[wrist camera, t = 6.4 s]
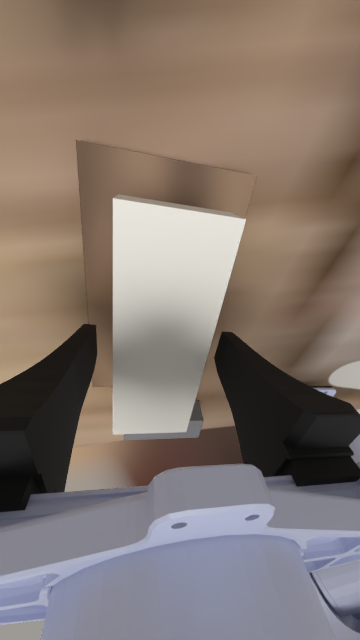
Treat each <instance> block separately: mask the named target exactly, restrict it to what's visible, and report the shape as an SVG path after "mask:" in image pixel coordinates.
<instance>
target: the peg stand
mask: <svg viewBox="0 0 360 640" xmlns="http://www.w3.org/2000/svg"><path fill="white" fill-rule="evenodd" d="M76 147H77V162H78V177H79V192H80V207H81V222H82V236H83V251H84V266H85V281H86V296H87V310H88V324H91V325H96V333H97V359H96V364H95V369H94V373H93V376H92V385H93V387H113V198H114V197H115V196H117V195H118V194H120V195H126V196H132V197H138V198H144V199H151V200H157V201H163V202H169V203H175V204H181V205H188V206H194V207H200V208H206V209H212V210H219V211H225V212H230V213H233V214H235V215H237V216H240V217H242V218H244V219H245V217H246V214H247V210H248V206H249V203H250V199H251V196H252V192H253V188H254V185H255V181H256V178H257V176H256V175H251V174H246V173H241V172H235V171H230V170H225V169H220V168H215V167H210V166H205V165H200V164H195V163H190V162H185V161H180V160H174V159H169V158H164V157H159V156H154V155H149V154H144V153H139V152H134V151H129V150H124V149H119V148H114V147H108V146H103V145H98V144H93V143H88V142H83V141H78V140H76Z"/></svg>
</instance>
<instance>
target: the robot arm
mask: <svg viewBox="0 0 360 640" xmlns="http://www.w3.org/2000/svg"><path fill="white" fill-rule="evenodd" d="M96 359H97V333H96V325H91V324H84V325H82V326H81V327H80V328H79V329H78V330H77V331H76V332H75V333H74V334H73V335H72V336H71V337H70V338H69V339H67V340H66V341H65V342H64V343H63V344H62V345H61V346H60V347H58V348H57V349H56V350H55V351H53V352H52V353H51V354H49V355H48V356H47V357H46V358H44V359H43V360H41V361H40V362H38V363H37V364H35V365H34V366H32V367H31V368H29V369H27V370H26V371H24V372H22V373H20V374H19V375H17V376H15V377H13V378H11V379H10V380H8V381H6V382H4V383H2V384H0V625H2V624H11V623H20V622H30V621H39V620H45V621H44V626H43V630H42V634H41V638H40V640H360V414H359V413H358V412H357V411H356V409H355V408H354V407H353V406H352V405H351V404H350V403H347V402H345V401H342V400H340V399H337V398H335V397H333V396H334V395H335V393H336V390H335V389H334V388H312V387H310V386H308V385H306V384H304V383H302V382H300V381H298V380H296V379H295V378H293V377H291V376H289V375H288V374H286V373H284V372H283V371H281V370H280V369H278V368H277V367H275V366H274V365H272V364H271V363H270V362H268V361H267V360H265V359H264V358H263V357H262V356H260V355H259V354H258V353H256V352H255V351H254V350H253V349H252V348H250V347H249V346H248V345H247V344H246V343H244V342H243V341H242V340H241V339H240V338H239V337H237V336H236V335H235V334H233V333H232V332H222V334H221V337H220V340H219V344H218V347H217V350H216V354H215V357H214V359H215V364H216V368H217V373H218V375H219V378H220V381H221V384H222V386H223V389H224V391H225V394H226V397H227V399H228V402H229V405H230V408H231V411H232V414H233V418H234V422H235V426H236V430H237V434H238V439H239V443H240V448H241V453H242V458H243V463H244V464H229V465H214V466H213V465H212V466H196V467H181V468H175V469H170V470H167V471H164V472H162V473H160V474H158V475H156V476H155V478H154V479H153V480H152V481H151V483H150V484H149V486H140V487H127V488H114V489H100V490H87V491H74V492H64V490H65V484H66V479H67V474H68V469H69V463H70V458H71V453H72V448H73V444H74V439H75V434H76V430H77V425H78V421H79V416H80V412H81V409H82V405H83V402H84V399H85V396H86V394H87V391H88V388H89V385H90V382H91V379H92V376H93V373H94V369H95V364H96Z"/></svg>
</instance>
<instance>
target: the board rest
mask: <svg viewBox="0 0 360 640" xmlns="http://www.w3.org/2000/svg"><path fill="white" fill-rule="evenodd" d="M202 424H203V416H202V412H201V408H200V404H199V401H195V403H194V406H193V410H192V413H191V417H190V421H189V424H188V428H187V431H186V432H178V433H146V434H124V440H137V439H138V440H139V439H165V438H193V437H198V436H199V433H200V430H201V427H202Z"/></svg>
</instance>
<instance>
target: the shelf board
mask: <svg viewBox="0 0 360 640" xmlns="http://www.w3.org/2000/svg"><path fill="white" fill-rule="evenodd" d="M245 222H246V219H244V218H242V217H240V216H237V215H235V214H233V213H230V212H225V211H219V210H212V209H206V208H200V207H194V206H188V205H181V204H175V203H169V202H163V201H157V200H151V199H144V198H138V197H132V196H126V195H120V194H118V195H117V196H115V197H114V198H113V435H114V434H146V433H178V432H186V431H187V428H188V424H189V421H190V417H191V413H192V410H193V406H194V403H195V399H196V396H197V392H198V389H199V385H200V381H201V378H202V374H203V371H204V367H205V364H206V360H207V357H208V353H209V350H210V346H211V342H212V339H213V335H214V332H215V328H216V325H217V321H218V318H219V314H220V310H221V307H222V303H223V300H224V296H225V293H226V289H227V286H228V282H229V278H230V275H231V271H232V268H233V264H234V261H235V257H236V254H237V250H238V247H239V243H240V239H241V236H242V232H243V229H244V225H245Z"/></svg>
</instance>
